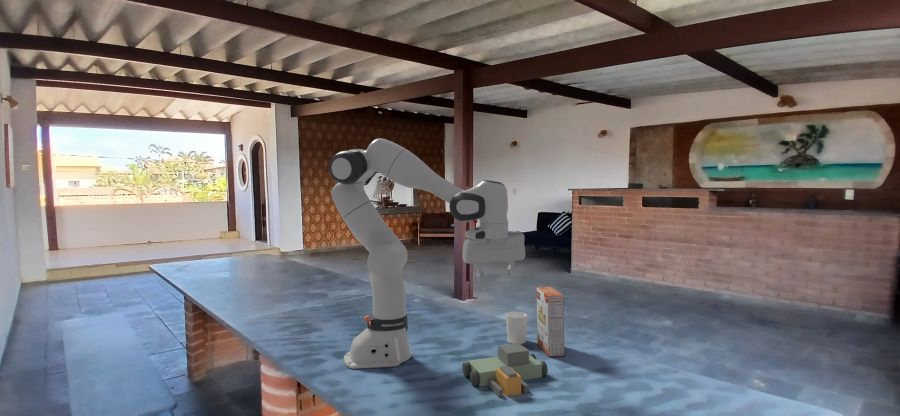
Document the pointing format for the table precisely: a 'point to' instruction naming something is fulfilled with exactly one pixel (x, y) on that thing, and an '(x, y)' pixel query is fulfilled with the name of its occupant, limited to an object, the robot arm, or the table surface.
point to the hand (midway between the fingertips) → (494, 275)
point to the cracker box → (550, 321)
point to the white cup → (516, 327)
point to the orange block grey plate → (508, 380)
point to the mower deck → (510, 355)
